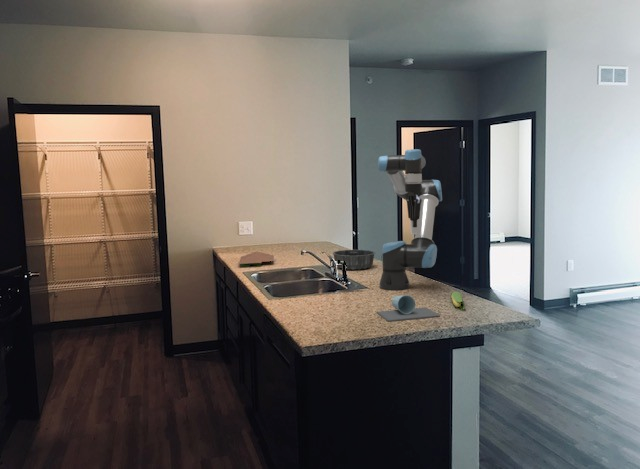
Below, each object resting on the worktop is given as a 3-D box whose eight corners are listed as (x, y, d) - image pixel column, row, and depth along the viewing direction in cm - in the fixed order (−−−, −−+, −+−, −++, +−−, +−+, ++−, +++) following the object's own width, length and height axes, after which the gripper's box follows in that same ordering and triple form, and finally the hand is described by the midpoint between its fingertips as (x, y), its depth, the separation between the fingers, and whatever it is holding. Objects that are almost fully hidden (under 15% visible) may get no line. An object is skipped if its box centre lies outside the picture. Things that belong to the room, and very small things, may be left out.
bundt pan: (375, 264, 347) (375, 248, 346) (375, 271, 321) (375, 255, 320) (334, 264, 349) (334, 249, 348) (331, 272, 323) (331, 255, 322)
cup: (388, 310, 228) (396, 313, 218) (389, 292, 228) (398, 294, 218) (405, 312, 229) (414, 314, 219) (406, 294, 230) (416, 295, 220)
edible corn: (461, 291, 242) (452, 288, 242) (467, 303, 222) (456, 300, 223) (458, 302, 243) (448, 299, 243) (463, 314, 223) (452, 311, 224)
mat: (376, 313, 224) (376, 311, 224) (425, 308, 229) (425, 307, 229) (388, 321, 211) (388, 320, 211) (440, 316, 216) (440, 315, 215)
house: (273, 259, 383) (273, 247, 382) (274, 267, 350) (273, 254, 349) (241, 260, 381) (240, 249, 380) (238, 268, 348) (238, 256, 347)
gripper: (400, 183, 253) (401, 233, 256) (411, 183, 241) (411, 236, 243) (415, 182, 255) (416, 232, 257) (426, 183, 242) (427, 235, 245)
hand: (414, 234), depth 250 cm, fingers closed
